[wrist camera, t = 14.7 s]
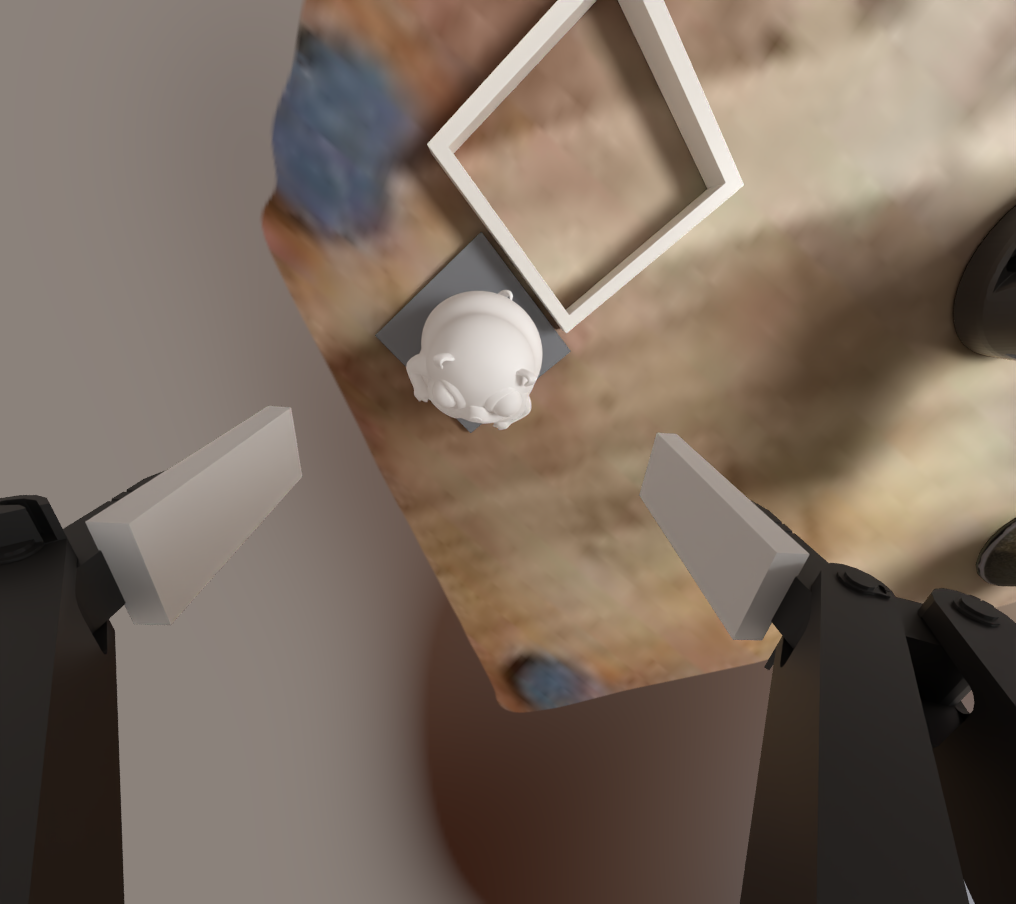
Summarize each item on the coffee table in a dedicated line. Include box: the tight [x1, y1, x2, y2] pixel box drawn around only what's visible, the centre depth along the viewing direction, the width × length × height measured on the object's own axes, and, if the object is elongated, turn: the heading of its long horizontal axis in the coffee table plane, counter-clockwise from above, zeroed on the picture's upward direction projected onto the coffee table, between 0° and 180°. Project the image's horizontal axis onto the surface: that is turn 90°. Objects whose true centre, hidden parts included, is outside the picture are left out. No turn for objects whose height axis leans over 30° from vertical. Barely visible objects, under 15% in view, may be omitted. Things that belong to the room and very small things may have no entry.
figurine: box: [406, 290, 542, 430], centre depth 28 cm, size 10×10×12 cm
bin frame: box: [427, 0, 744, 333], centre depth 28 cm, size 16×16×2 cm
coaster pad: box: [375, 232, 571, 433], centre depth 34 cm, size 12×12×1 cm
